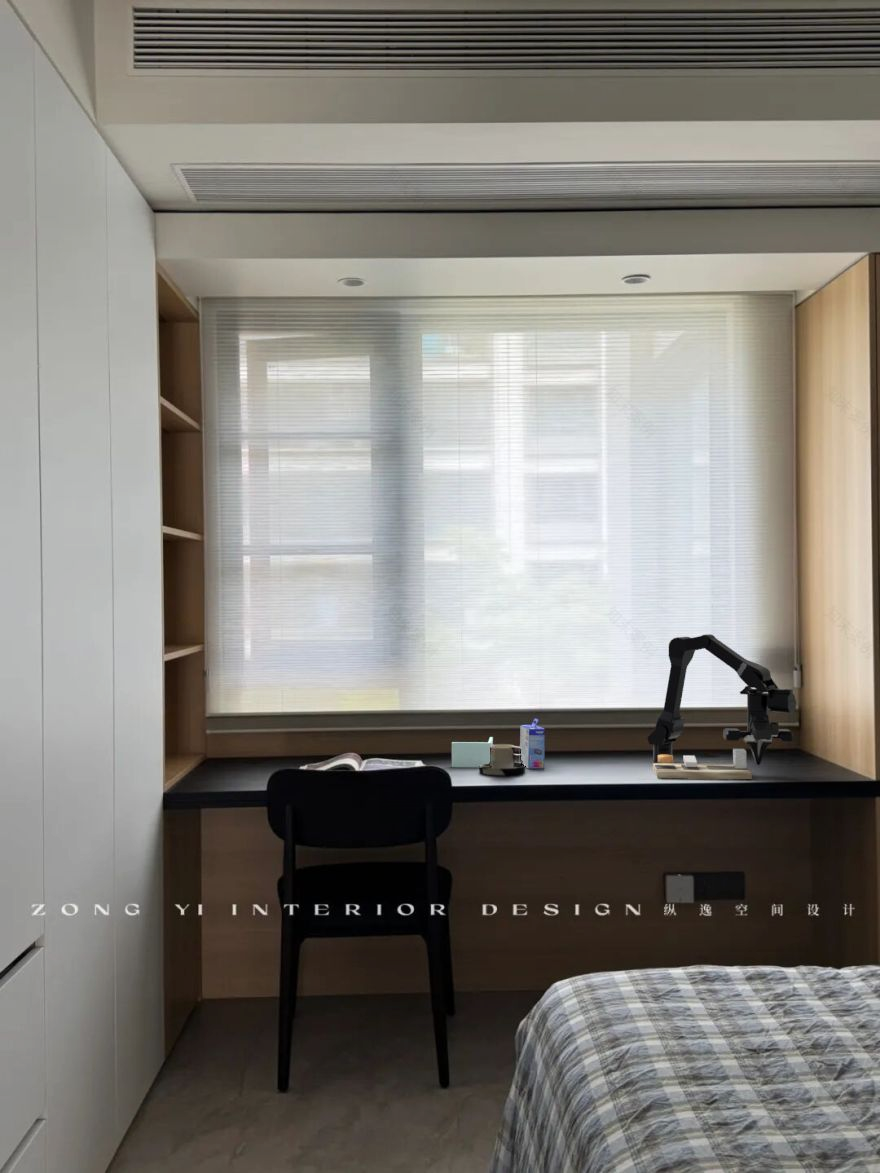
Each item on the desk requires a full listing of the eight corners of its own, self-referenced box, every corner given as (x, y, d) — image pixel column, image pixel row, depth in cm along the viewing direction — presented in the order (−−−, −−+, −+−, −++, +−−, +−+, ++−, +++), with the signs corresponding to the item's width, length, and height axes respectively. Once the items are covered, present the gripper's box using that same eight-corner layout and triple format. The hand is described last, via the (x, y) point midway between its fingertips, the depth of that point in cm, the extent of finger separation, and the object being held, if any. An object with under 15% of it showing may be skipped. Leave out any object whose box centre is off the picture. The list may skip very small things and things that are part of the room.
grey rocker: (683, 760, 286) (683, 755, 285) (694, 760, 285) (694, 755, 285) (685, 766, 280) (685, 762, 280) (697, 766, 280) (697, 762, 279)
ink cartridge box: (545, 768, 294) (545, 720, 294) (528, 769, 293) (527, 721, 293) (536, 763, 304) (535, 716, 304) (519, 764, 303) (518, 717, 303)
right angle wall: (492, 760, 309) (492, 737, 309) (490, 767, 297) (490, 743, 297) (455, 760, 310) (455, 736, 310) (451, 767, 298) (451, 742, 298)
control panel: (652, 769, 291) (652, 762, 291) (742, 770, 288) (742, 763, 288) (657, 778, 277) (657, 770, 277) (751, 780, 274) (751, 772, 274)
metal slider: (733, 765, 283) (733, 748, 283) (743, 766, 283) (743, 748, 283) (735, 768, 279) (735, 751, 279) (746, 768, 279) (746, 751, 279)
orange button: (657, 760, 286) (657, 754, 286) (672, 760, 285) (672, 754, 285) (658, 763, 282) (658, 756, 282) (674, 763, 281) (674, 757, 281)
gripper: (729, 713, 274) (729, 769, 274) (798, 714, 271) (798, 770, 271) (722, 708, 285) (722, 762, 285) (788, 709, 282) (789, 763, 282)
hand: (758, 764), depth 280 cm, fingers closed
